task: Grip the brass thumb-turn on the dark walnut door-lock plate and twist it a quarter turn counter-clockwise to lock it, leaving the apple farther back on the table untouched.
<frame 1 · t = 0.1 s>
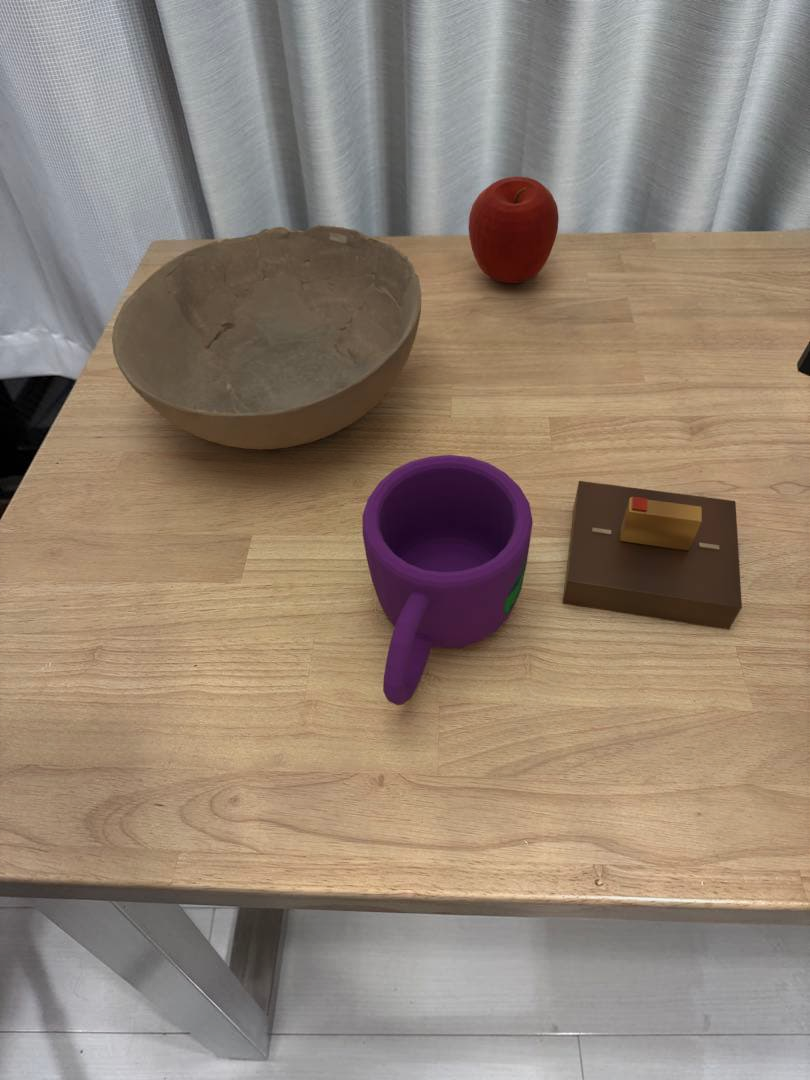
bowl: (286, 390, 72), on the table
apple: (509, 275, 82), on the table
mug: (435, 629, 54), on the table
lock plate: (646, 562, 57), on the table
lock knob: (660, 523, 53), point 5 cm above the table, hinge at 0.0°
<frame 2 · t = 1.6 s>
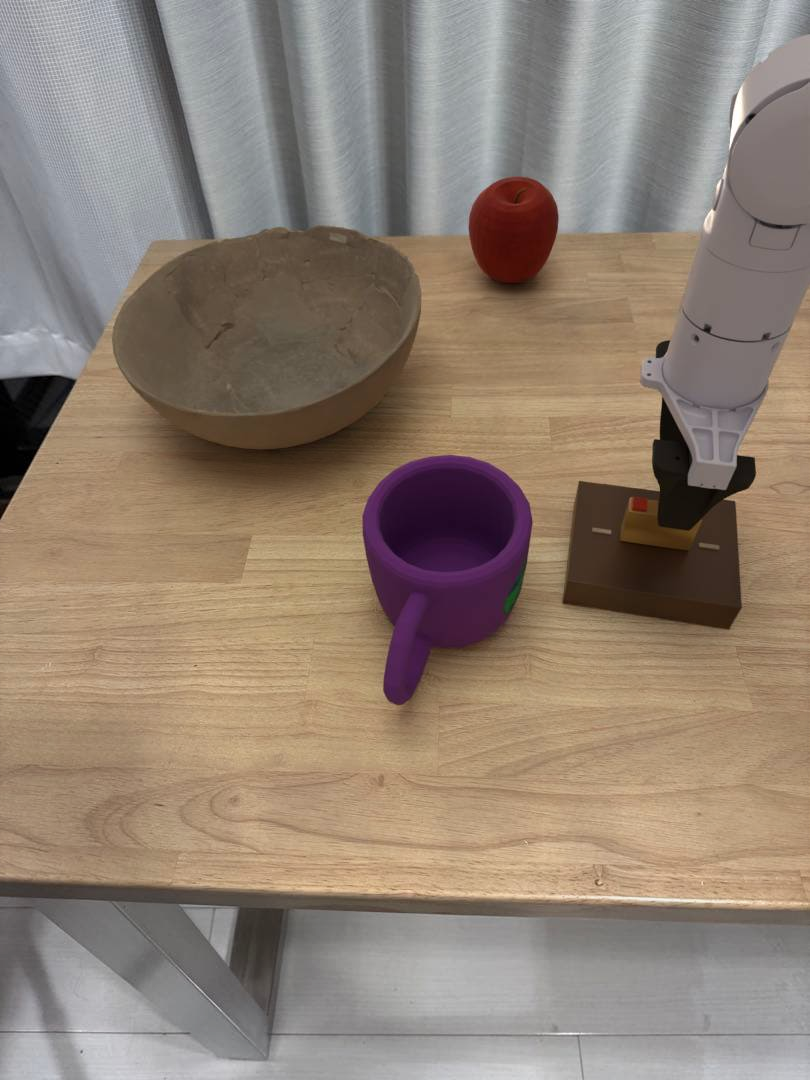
hand: (674, 481, 49), 9 cm above the table, tool pointing down, fingers open, 7 cm apart
nothing on the table moved.
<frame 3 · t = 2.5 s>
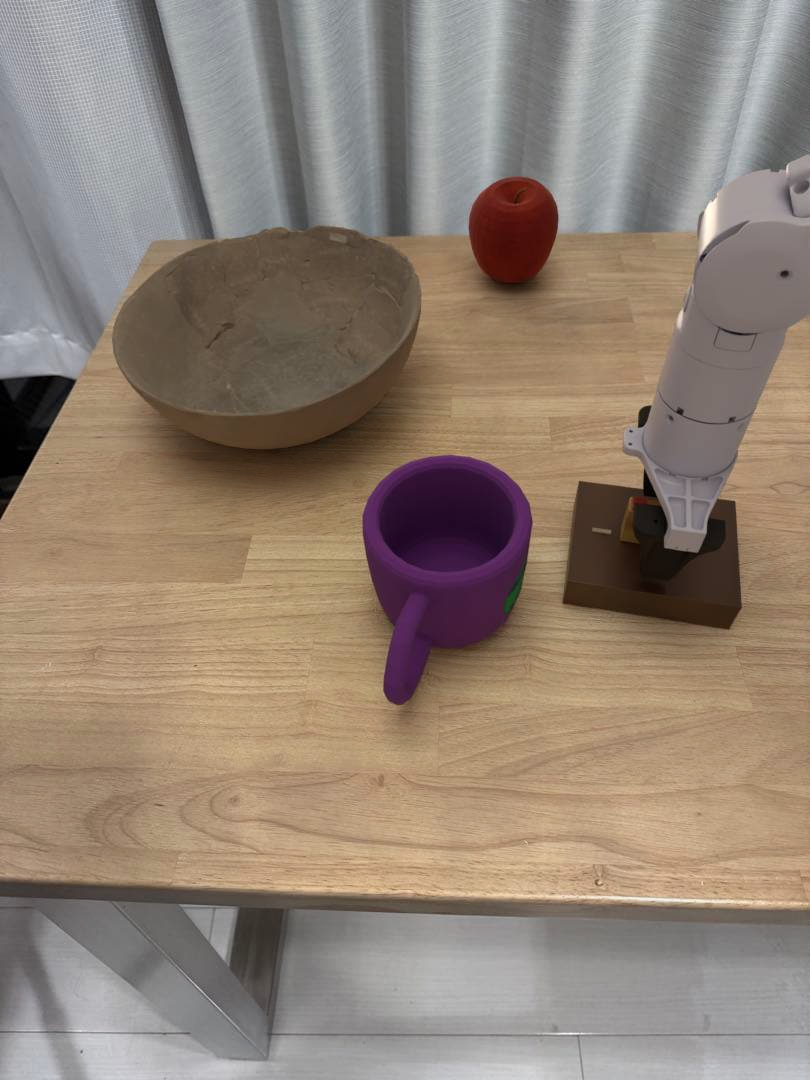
hand: (656, 533, 54), 4 cm above the table, tool pointing down, fingers open, 7 cm apart
nothing on the table moved.
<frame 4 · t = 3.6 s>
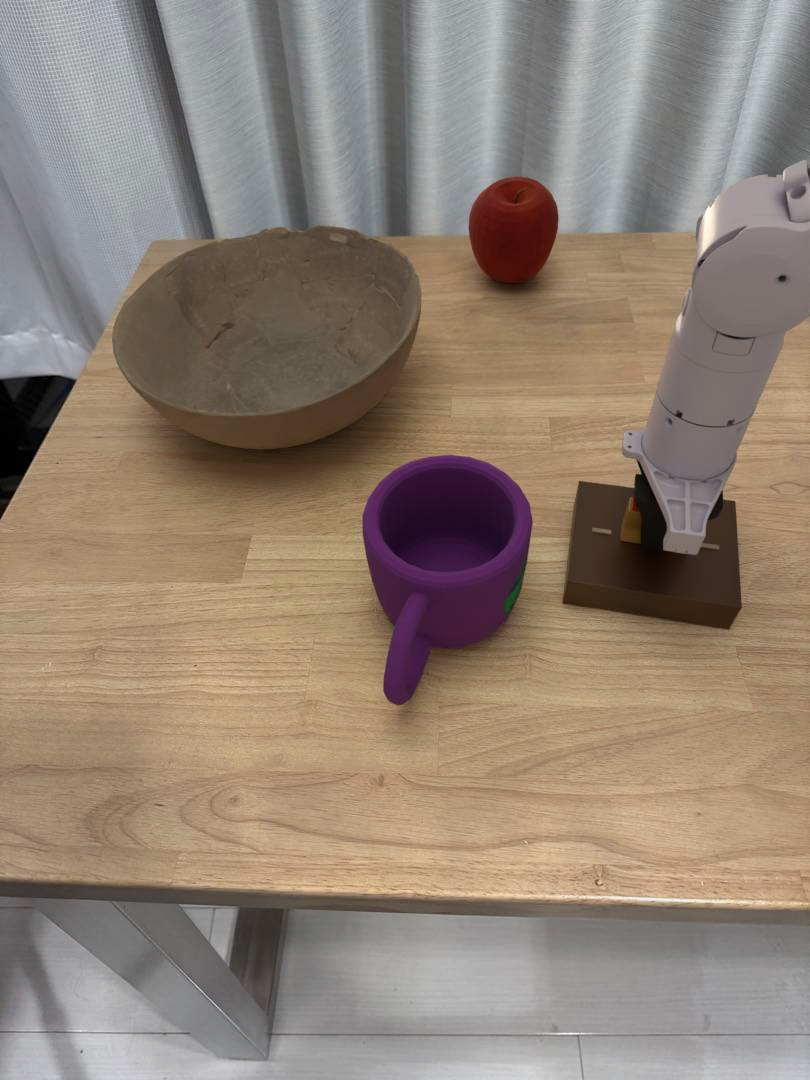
hand: (655, 535, 54), 4 cm above the table, tool pointing down, fingers closed on lock knob
lock knob: (660, 523, 53), point 5 cm above the table, hinge at 0.0°, touching gripper
everything else where it was.
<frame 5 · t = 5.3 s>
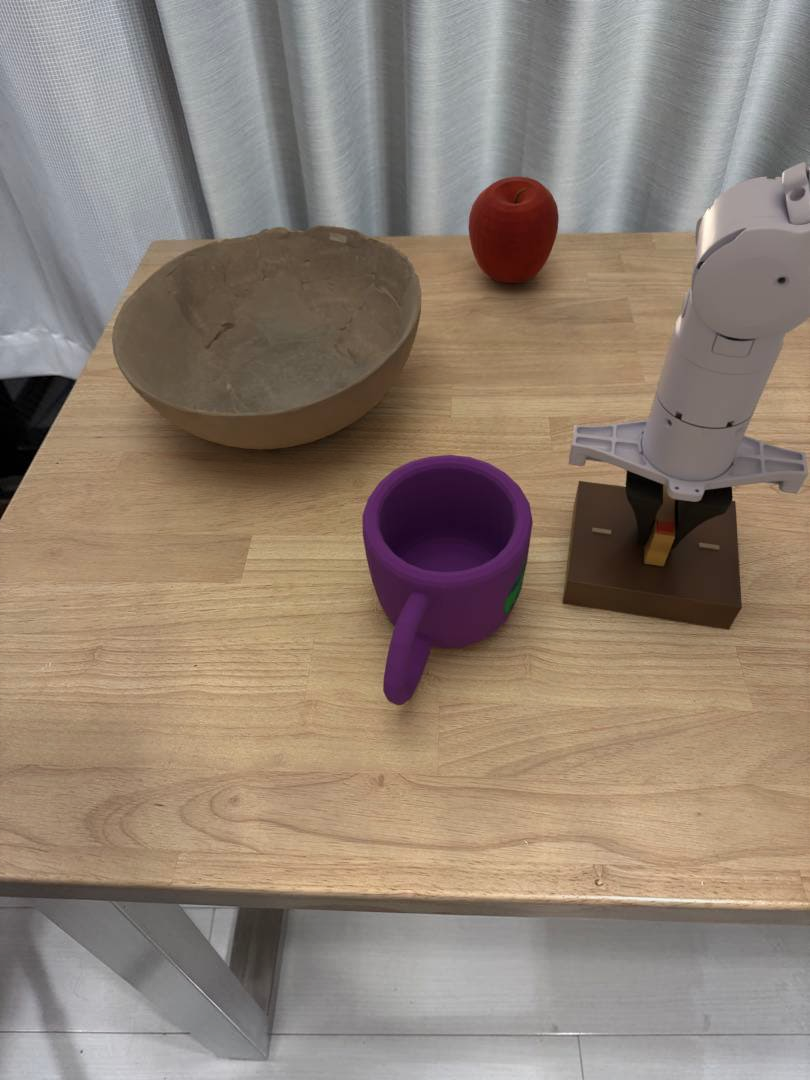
hand: (655, 535, 54), 3 cm above the table, tool pointing down, fingers closed on lock knob
lock knob: (660, 523, 53), point 5 cm above the table, hinge at 89.8°, touching gripper
everything else where it was.
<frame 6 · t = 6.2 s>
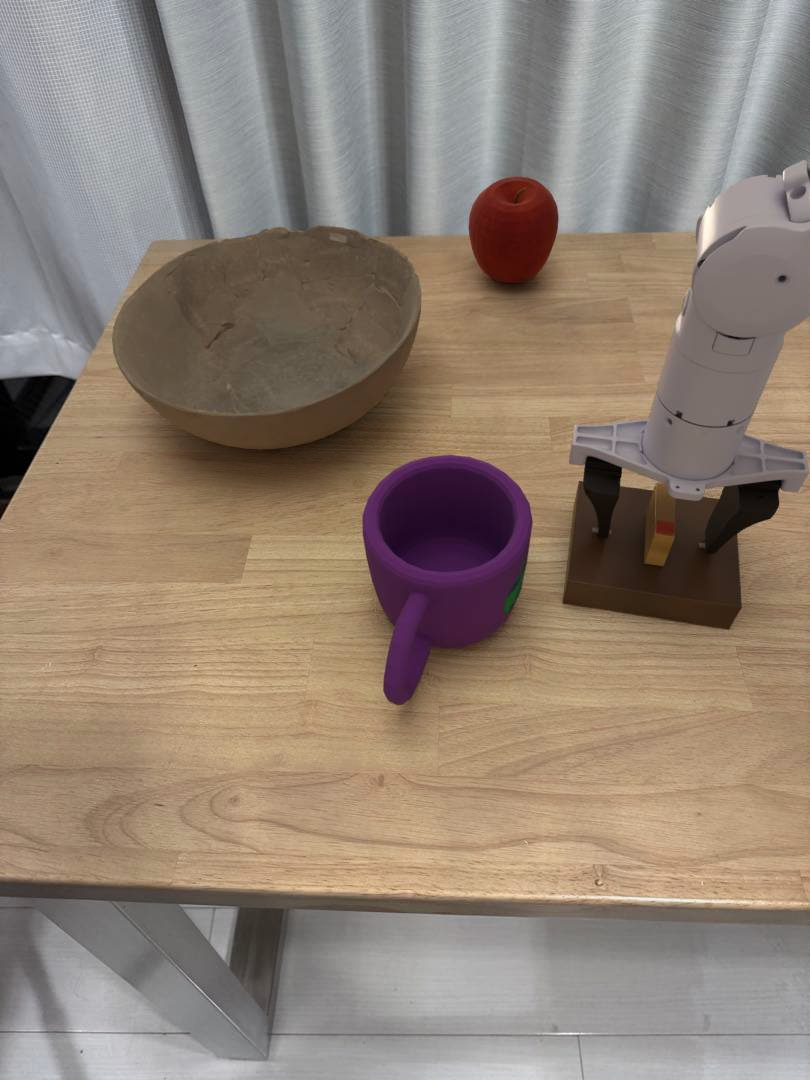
hand: (656, 535, 54), 4 cm above the table, tool pointing down, fingers open, 7 cm apart
lock knob: (660, 523, 53), point 5 cm above the table, hinge at 89.8°
everything else where it was.
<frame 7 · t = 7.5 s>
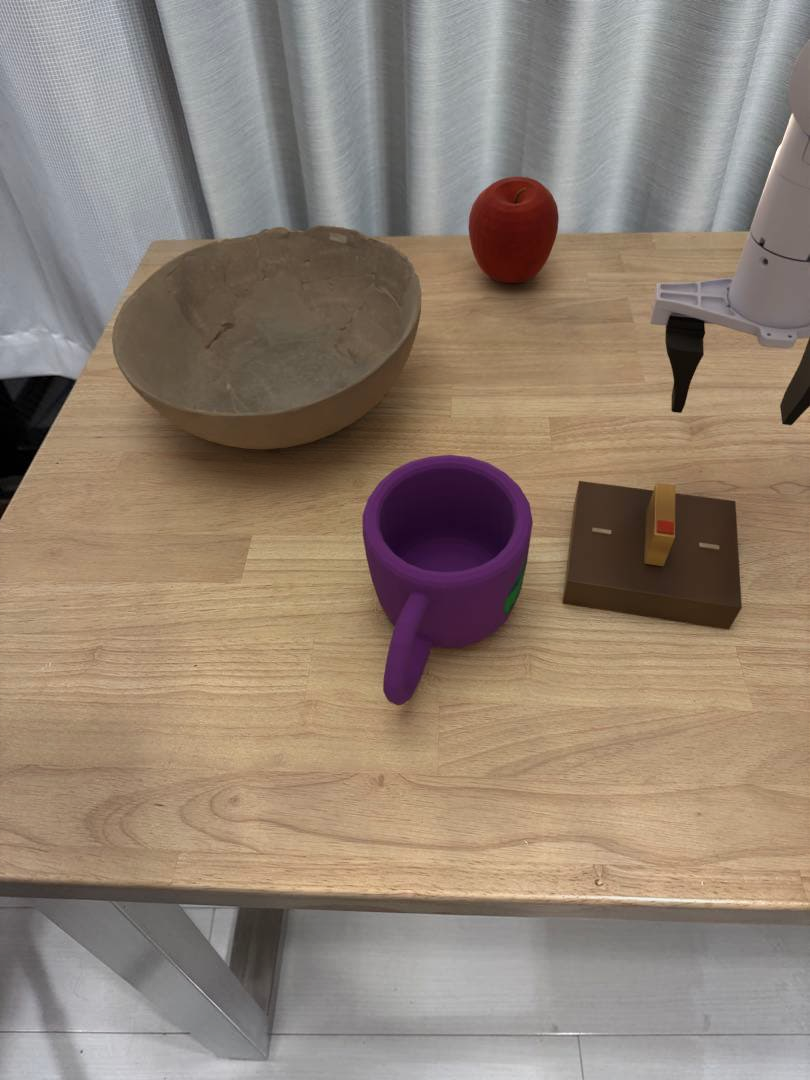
hand: (730, 409, 53), 9 cm above the table, tool pointing down, fingers open, 7 cm apart
nothing on the table moved.
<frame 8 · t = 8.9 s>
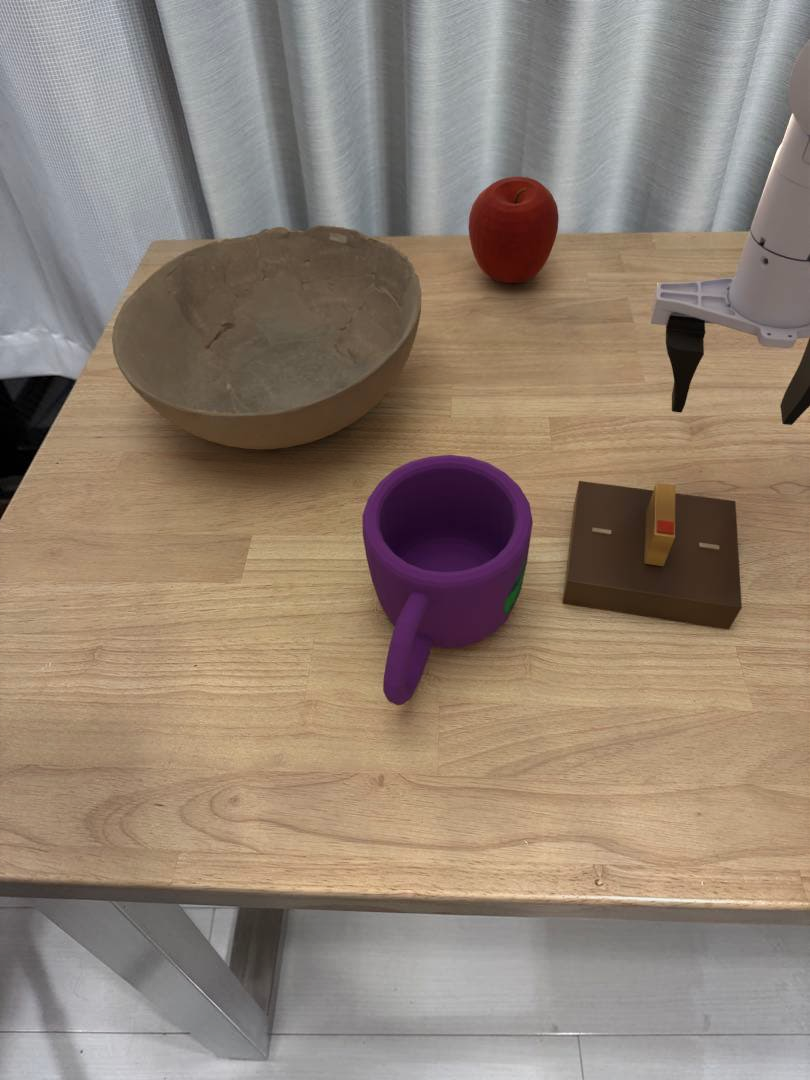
hand: (730, 409, 53), 9 cm above the table, tool pointing down, fingers open, 7 cm apart
nothing on the table moved.
at the end: lock knob at +90° (first picture: +0°); apple moved 0.2 cm from its start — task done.
